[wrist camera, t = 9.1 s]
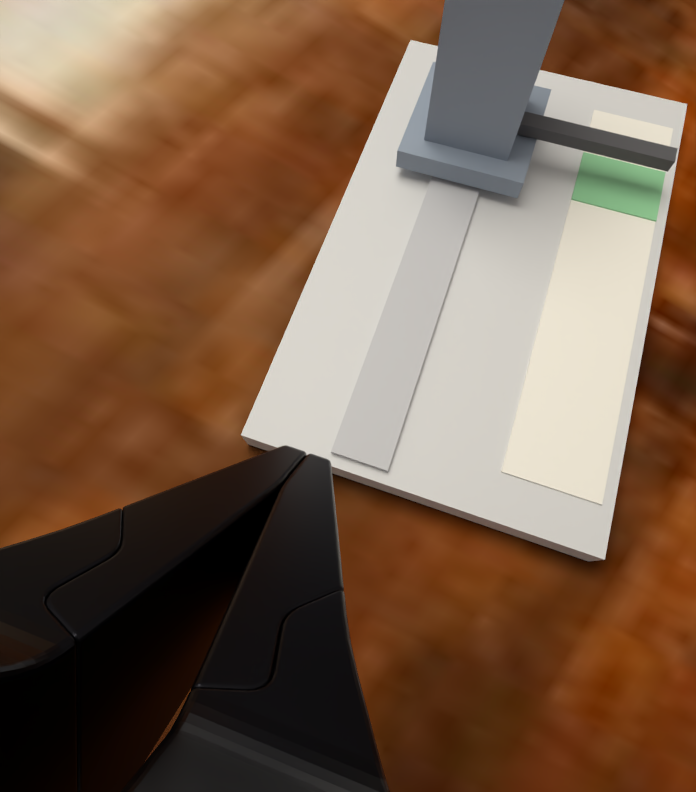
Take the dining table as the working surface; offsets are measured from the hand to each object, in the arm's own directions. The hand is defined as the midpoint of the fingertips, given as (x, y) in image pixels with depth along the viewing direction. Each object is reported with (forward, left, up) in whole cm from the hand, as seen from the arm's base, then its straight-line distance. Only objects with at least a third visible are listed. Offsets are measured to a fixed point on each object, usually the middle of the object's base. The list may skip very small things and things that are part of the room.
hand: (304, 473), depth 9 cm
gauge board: (+15, +2, -14) cm, 20 cm away
